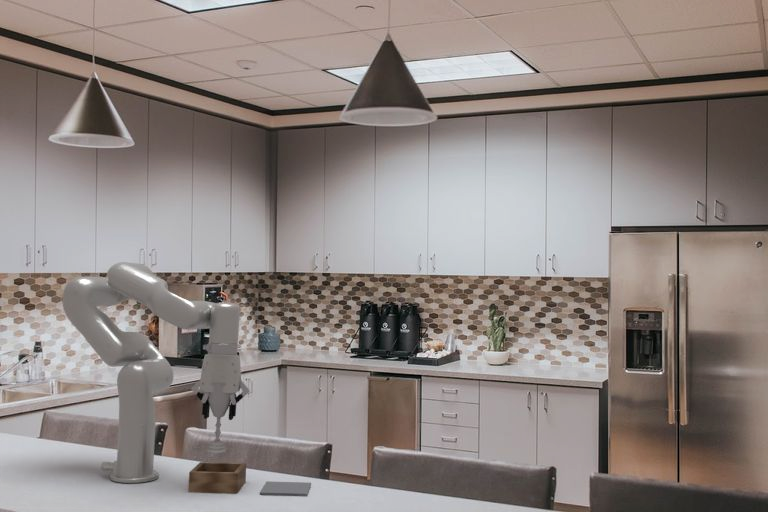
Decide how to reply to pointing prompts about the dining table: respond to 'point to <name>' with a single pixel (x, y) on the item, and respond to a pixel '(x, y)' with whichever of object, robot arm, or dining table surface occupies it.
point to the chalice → (218, 414)
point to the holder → (217, 477)
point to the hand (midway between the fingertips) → (218, 417)
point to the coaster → (285, 488)
